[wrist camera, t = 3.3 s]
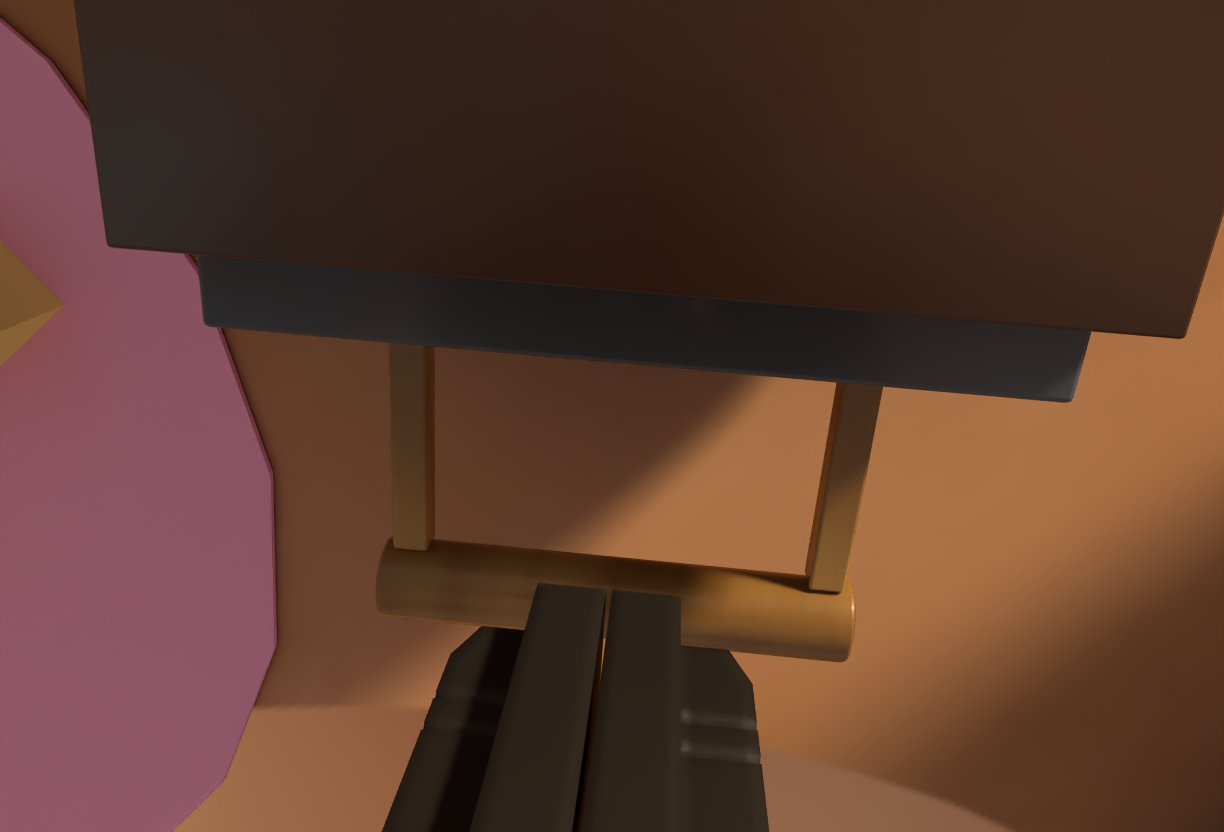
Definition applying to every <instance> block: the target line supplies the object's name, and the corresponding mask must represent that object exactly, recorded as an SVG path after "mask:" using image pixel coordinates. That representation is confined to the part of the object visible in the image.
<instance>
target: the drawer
mask: <svg viewBox="0 0 1224 832" xmlns="http://www.w3.org/2000/svg"><path fill="white" fill-rule="evenodd" d="M197 263H198V273H199V283H200V293H201V303H202V313H203V321H204V324H205V325H207V326H209V327H216V328H228V329H239V330H250V331H261V332H273V333H284V334H295V335H307V336H318V337H329V338H340V339H352V340H363V341H374V342H386V343H389V365H390V411H391V456H392V502H393V537H391V538H390V539H389V540H388V541H387V543H386V545H385V547H384V549H383V552H382V555H381V558H380V562H379V566H378V572H377V579H376V602H377V608H378V611H379V613H380V614H381V615H383V616H386V617H396V618H406V619H416V620H426V621H435V622H445V623H455V624H465V625H475V626H489V627H499V628H509V629H520V630H525V627H526V623H527V620H528V616H529V612H530V609H531V605H532V601H533V598H534V594H535V590H536V587H537V585H538V583H547V584H558V585H568V586H579V587H589V588H599V589H606V591H607V592H606V610H605V623H604V637H603V638H604V639H606V634H607V626H608V618H609V611H610V603H611V595H612V590H623V591H633V592H644V593H654V594H665V595H675V596H680V597H681V645H686V646H696V647H706V648H716V649H727V650H729V651H732V652H742V653H752V654H762V655H772V656H782V657H792V658H802V659H811V660H821V661H831V662H844V661H846V660H847V659H848V657H849V654H850V652H851V649H852V645H853V640H854V633H855V619H856V610H855V598H854V592H853V589H852V585H851V583H850V582H849V581H847V580H846V579H847V574H848V569H849V564H850V558H851V553H852V548H853V543H854V537H855V532H856V527H857V521H858V516H859V511H860V506H861V500H862V495H863V490H864V485H865V479H866V474H867V469H868V463H869V458H870V453H871V448H872V442H873V437H874V432H875V427H876V421H877V416H878V411H879V406H880V400H881V395H882V390H883V387H893V388H905V389H916V390H927V391H938V392H950V393H961V394H972V395H984V396H995V397H1006V398H1017V399H1029V400H1040V401H1051V402H1063V403H1065V402H1071V400H1072V399H1073V397H1074V393H1075V390H1076V386H1077V382H1078V379H1079V375H1080V371H1081V368H1082V364H1083V360H1084V357H1085V353H1086V349H1087V346H1088V342H1089V338H1090V335H1091V331H1081V330H1069V329H1057V328H1046V327H1034V326H1022V325H1011V324H999V323H987V322H975V321H964V320H952V319H940V318H929V317H917V316H905V315H893V314H882V313H870V312H858V311H847V310H835V309H823V308H812V307H800V306H788V305H776V304H765V303H753V302H741V301H730V300H718V299H706V298H694V297H683V296H671V295H659V294H648V293H636V292H624V291H612V290H601V289H589V288H577V287H566V286H554V285H542V284H530V283H519V282H507V281H495V280H484V279H472V278H460V277H448V276H437V275H425V274H413V273H402V272H390V271H378V270H366V269H355V268H343V267H331V266H320V265H308V264H296V263H284V262H273V261H261V260H249V259H238V258H226V257H214V256H202V255H197ZM435 347H442V348H453V349H464V350H476V351H487V352H498V353H510V354H521V355H532V356H543V357H555V358H566V359H577V360H589V361H600V362H611V363H622V364H634V365H645V366H656V367H668V368H679V369H690V370H701V371H713V372H724V373H735V374H747V375H758V376H769V377H780V378H792V379H803V380H814V381H826V382H837V384H836V390H835V396H834V402H833V407H832V413H831V419H830V425H829V431H828V437H827V443H826V449H825V455H824V460H823V466H822V472H821V478H820V484H819V490H818V496H817V502H816V508H815V514H814V519H813V525H812V531H811V537H810V543H809V549H808V555H807V561H806V567H805V574H806V575H797V574H787V573H777V572H767V571H756V570H746V569H736V568H725V567H715V566H705V565H695V564H684V563H674V562H664V561H654V560H643V559H633V558H623V557H612V556H602V555H592V554H582V553H571V552H561V551H551V550H541V549H530V548H520V547H510V546H499V545H489V544H479V543H469V542H458V541H448V540H438V539H433V538H434V536H435Z"/></svg>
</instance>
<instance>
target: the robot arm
mask: <svg viewBox="0 0 1224 832" xmlns="http://www.w3.org/2000/svg"><path fill="white" fill-rule="evenodd" d="M606 592H607V591H606V589H599V588H589V587H579V586H568V585H558V584H547V583H538V585H537V587H536V590H535V594H534V598H533V601H532V605H531V609H530V612H529V616H528V620H527V623H526V627H525V630H520V629H509V628H499V627H489V626H481V627H480V628H479V629H478V630H477V631H476V632H475V633H474V634H472V635H471V636H470V637H469V638H468V639H467V640H466V641H465V642H464V643H462V644H461V645H460V646H459V647H458V648H457V649H456V650H455V651H454V652H452V653H451V654H450V656H449V659H448V662H447V664H446V667H445V669H444V672H443V675H442V677H441V680H440V682H439V685H438V687H437V690H436V697H435V698H433V700H432V703H431V706H430V708H429V711H428V713H427V716H426V719H425V721H424V728H423V730H421V731H420V734H419V737H418V739H417V742H416V745H415V747H414V750H413V752H412V755H411V757H410V760H409V763H408V765H407V768H406V771H405V773H404V776H403V778H402V781H401V783H400V786H399V789H398V791H397V794H396V796H395V799H394V801H393V804H392V807H391V809H390V812H389V814H388V817H387V820H386V822H385V825H384V827H383V830H382V832H769V826H768V817H767V809H766V799H765V791H764V782H763V774H762V765H761V764H760V756H761V755H760V746H759V738H758V731H757V730H756V726H757V720H756V711H755V702H754V693H753V684H752V683H751V681H750V680H749V678H748V677H747V676H746V674H745V673H744V671H743V670H742V669H741V667H740V666H739V664H738V663H737V661H736V660H735V659H734V657H733V656H732V654H731V653H730V651H729V650H727V649H716V648H706V647H696V646H686V645H681V597H680V596H675V595H665V594H654V593H644V592H633V591H623V590H612V595H611V603H610V611H609V618H608V626H607V634H606V641H605V649H604V657H603V665H602V672H601V663H602V650H603V637H604V623H605V610H606ZM600 676H601V680H600Z"/></svg>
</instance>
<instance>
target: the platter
mask: <svg viewBox="0 0 1224 832" xmlns="http://www.w3.org/2000/svg"><path fill="white" fill-rule="evenodd" d="M276 646H277V620H276V574H275V528H274V481H273V471H272V468H271V465H270V463H269V460H268V457H267V454H266V451H265V449H264V446H263V443H262V440H261V438H260V435H259V432H258V429H257V426H256V424H255V421H254V418H253V415H252V413H251V410H250V407H249V404H248V401H247V399H246V396H245V393H244V390H243V388H242V385H241V382H240V379H239V376H238V374H237V371H236V368H235V365H234V363H233V360H232V357H231V354H230V351H229V349H228V346H227V343H226V340H225V337H224V335H223V332H222V329H221V328H216V327H209V326H207V325H205V324H204V321H203V313H202V303H201V293H200V283H199V273H198V267H197V266H196V264H195V263H194V261H193V260H192V259H191V257H190V256H189V254H179V253H167V252H156V251H144V250H132V249H120V248H112V247H109V246H108V245H107V243H106V235H105V228H104V220H103V213H102V206H101V198H100V191H99V183H98V176H97V169H96V161H95V154H94V146H93V139H92V132H91V124H90V117H89V113H88V112H87V110H86V109H85V108H84V106H83V105H82V103H81V102H80V100H79V99H78V98H77V96H76V95H75V93H74V92H73V91H72V89H71V88H70V86H69V85H68V84H67V82H66V81H65V79H64V78H63V76H62V75H61V74H60V72H59V71H58V69H57V68H56V67H55V65H54V64H53V62H52V61H51V60H50V59H49V58H47V57H46V56H45V55H44V54H43V53H41V52H40V51H39V50H38V49H37V48H36V47H34V46H33V45H32V44H31V43H30V42H29V41H27V40H26V39H25V38H24V37H23V36H22V35H20V34H19V33H18V32H17V31H16V30H14V29H13V28H12V27H11V26H10V25H9V24H7V23H6V22H5V21H4V20H3V19H2V18H0V832H173V831H174V830H175V829H176V828H177V827H178V826H179V825H180V824H181V823H182V822H183V821H184V820H185V819H186V818H187V817H188V816H189V815H190V814H191V813H192V812H193V811H194V810H195V809H196V808H197V807H198V806H199V805H200V804H201V803H202V802H203V801H204V800H205V799H206V798H207V797H208V796H209V795H210V794H211V793H212V792H213V791H214V790H215V789H216V788H217V787H218V786H219V785H220V784H221V783H222V782H223V781H224V780H225V778H226V776H227V773H228V771H229V768H230V766H231V763H232V760H233V758H234V755H235V753H236V750H237V747H238V745H239V742H240V739H241V737H242V734H243V732H244V729H245V727H246V724H247V721H248V719H249V716H250V714H251V711H252V709H253V706H254V703H255V701H256V698H257V696H258V693H259V690H260V688H261V685H262V683H263V680H264V677H265V675H266V672H267V670H268V667H269V664H270V662H271V659H272V657H273V654H274V651H275V649H276Z"/></svg>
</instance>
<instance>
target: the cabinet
mask: <svg viewBox="0 0 1224 832" xmlns="http://www.w3.org/2000/svg"><path fill="white" fill-rule="evenodd" d="M74 6H75V13H76V21H77V28H78V36H79V43H80V50H81V58H82V65H83V73H84V80H85V87H86V95H87V102H88V110H89V117H90V124H91V132H92V139H93V146H94V154H95V161H96V169H97V176H98V183H99V191H100V198H101V206H102V213H103V220H104V228H105V235H106V243H107V245H108V246H109V247H112V248H120V249H132V250H144V251H156V252H167V253H179V254H191V255H202V256H214V257H226V258H238V259H249V260H261V261H273V262H284V263H296V264H308V265H320V266H331V267H343V268H355V269H366V270H378V271H390V272H402V273H413V274H425V275H437V276H448V277H460V278H472V279H484V280H495V281H507V282H519V283H530V284H542V285H554V286H566V287H577V288H589V289H601V290H612V291H624V292H636V293H648V294H659V295H671V296H683V297H694V298H706V299H718V300H730V301H741V302H753V303H765V304H776V305H788V306H800V307H812V308H823V309H835V310H847V311H858V312H870V313H882V314H893V315H905V316H917V317H929V318H940V319H952V320H964V321H975V322H987V323H999V324H1011V325H1022V326H1034V327H1046V328H1057V329H1069V330H1081V331H1093V332H1104V333H1116V334H1128V335H1139V336H1151V337H1163V338H1175V339H1181V338H1184V337H1185V336H1186V333H1187V330H1188V326H1189V323H1190V320H1191V317H1192V314H1193V310H1194V307H1195V304H1196V301H1197V298H1198V294H1199V291H1200V288H1201V285H1202V282H1203V278H1204V275H1205V272H1206V269H1207V266H1208V262H1209V259H1210V256H1211V253H1212V250H1213V246H1214V243H1215V240H1216V237H1217V234H1218V230H1219V227H1220V224H1221V221H1222V218H1223V215H1224V0H74Z"/></svg>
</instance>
